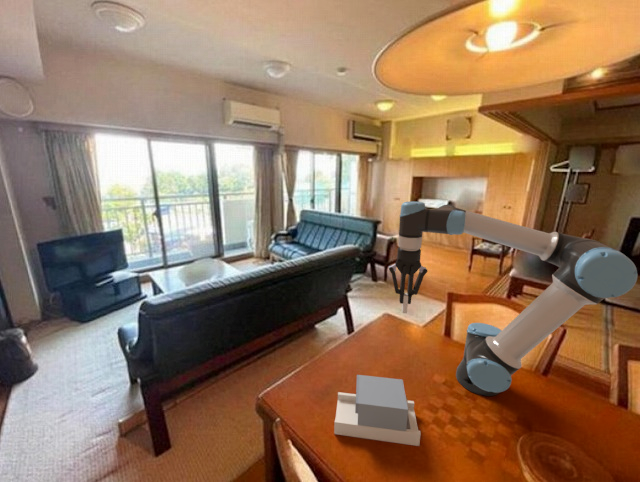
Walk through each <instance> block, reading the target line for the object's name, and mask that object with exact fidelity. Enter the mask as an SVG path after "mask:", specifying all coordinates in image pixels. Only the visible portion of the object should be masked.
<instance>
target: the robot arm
mask: <svg viewBox="0 0 640 482" xmlns="http://www.w3.org/2000/svg"><path fill="white" fill-rule="evenodd" d="M400 207H401V208H400V214H399V225H398V226H399V228H398V244H397V246H398V248H397V255H396V256H397V257H396V261H395V262H394V264H392V265H388V270H389V272H390V274H391V277H392V282H393V286H394V287H393V288H394V293H395V294H398V295H399V303H400V304H401V313H402V314H408V307H409V306H408V305H411V303H412V296H414V295H418V293H419V290H420V287H421V285H422V282H423V279H424V277H425V275H426V274H427V273H428V269H427V268H426V267H425V266H422V262H421V255H422V254H421V252H422V249H421V248H422V243H423V233H434V234H441V235H444V234H445V235H449V236H452V235H453V236H454V235H456V236H461V235H463V234H467V235H469V236H473V237H477V238H479V239H483V240H486V241H489V242H493V243H496V244H500V245H503V246H506V247H510V248H512V249H515V250H519V251H522V252H525V253H529V254H532V255H535V256H538V257H539V259H540V260H541V261H544V262H547V263H549V264H552V265H554V266H556V267H558V269H556V271H554V272H553V273H552V275H551V277H552V283H551V284H550V285H548V286H547V287H546V289H544V290H543V291H542V292H541V293H540V294H539V295H538V296H537V297H536V298H535V299H534V300H532V302H530V304H529V305H527V306H526V307H525V308H524V309H523V310H522V311H521V312H519V314H517V316H516V317H514V318H513V320H511V321H510V322H509V323H508V324H507V325H506V326H505V327H504V328H503V329H500V328H498V327H496V326H494V325H492V324H489V323H488V324H487V323H482V322H472V323H469V325H468V326H467V329H466V338H465V345H464V350H463V357H462V360H461V361H460V362H459V365H457V367H456V371H455V377H456V380H457V382H458V383H459V384H460V385H461V386H462V387H463V388H465V389H467V391H469V392H471V393H473V394H476V395H479V396H485V397H492V396H498V394H500V393H502V392H505V391H507V390H509V388H510V386H511V385H512V381H513V379H512V376H513V375H514V374H515V373H516V372H518V371H519V370H520V369H521V368H522V358H523V359H524V357H525V356H526V355H528V354H529V353H530V352H531V351H532V350H534V349H535V348H536V347H537V346H538V345H540V344H541V343H542V342H543V341H544V340H546V338H548V337H549V336H550V335H551V334H552V333H554V331H556V330H557V329H558V328H560V327H561V326H562V325H563V324H564V323H565V322H567V321H568V320H569V319H570V318H572V316H574V315H575V314H576V313H577V312H579V310H581V309H582V308H583V307H584V306H587V305H598V304H599V303H600V302H602V301H603V300H604V299H609V298H610V299H611V298H617V297H621V296H623V295H625V294H627V293H628V292H629V291H631V290H632V289H633V288H634V286H635V285H636V283H637V281H638V270H637V267H636V265H635V263H634V262H633V261H632V260H631V259H630V258H629V257H628V256H626V255H625V254H624V253H622V252H621V251H619V250H617V249H614V248H612V247H610V246H608V245H606V244H604V243H602V242H600V241H597V240H595V239H590V238H586V237H585V238H584V237H580V236H574V235H569V234H565V233H561V232H557V231H552V232H549V233H548V232H545V231H542V230H538V229H533V228H531V227H527V226H523V225H520V224H517V223H512V222H510V221H505V220H502V219H497V218H494V217H491V216H487V215H484V214H480V213H477V212H473V211H471V210H470V211H469V210H465V209H463V208H458V207H456V206H454V205H452V204H443V205H441V206H438V208H437V209H436V208H435V209H433V208H431V209H430V208H426V204H425V202H422V201H413V200H411V201H404V202H402V204H401V206H400ZM397 269H398V271H399V273H400V282H399V283H400V284H398V281H397V280H398V279H397V274H396V271H397ZM417 272H418V274H417V276H416V280H415V282H414V276H415V274H416V273H417ZM407 275H408V279H407V290H406V289H405V288H406V277H407ZM413 283H414V284H413ZM405 290H406V291H407V292H405Z"/></svg>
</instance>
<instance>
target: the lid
mask: <svg viewBox="0 0 640 482" xmlns="http://www.w3.org/2000/svg"><path fill="white" fill-rule="evenodd" d="M355 385H356V388H355V392H356V393H355V394H356V407H355V413H357V414H358V425H364V426H371V427H379V428H386V429H394V430H401V431H406V427H407V416H408V406H407V401H406V397H407V396H406V392H405V386H404V380H403V379H401V378H393V377H392V378H390V377H383V376H382V377H381V376H373V375H364V374H363V375H362V374H356V384H355Z"/></svg>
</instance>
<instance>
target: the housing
mask: <svg viewBox="0 0 640 482" xmlns="http://www.w3.org/2000/svg"><path fill="white" fill-rule="evenodd" d="M407 406H408V416H407V427H406V431H401V430H394V429H386V428H379V427H371V426H364V425H358V414H357V413H355V407H356V393H349V392H348V393H347V392H340V391H338V392H337V403H336V412H335V419H334V424H333V425H334V426H333V427H334V428H333V429H334V430H333V433H334V435H338V436H339V435H340V436H345V437H346V436H347V437H353V438H359V439H366V440H373V441H381V442H388V443H396V444H402V445H407V446H416V447H420V444H421V443H420V441H421V436H422V434H421V430H419V427H418V423H417V418H416V413H415V409H414V408H415V401H414V400H408V402H407Z"/></svg>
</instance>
